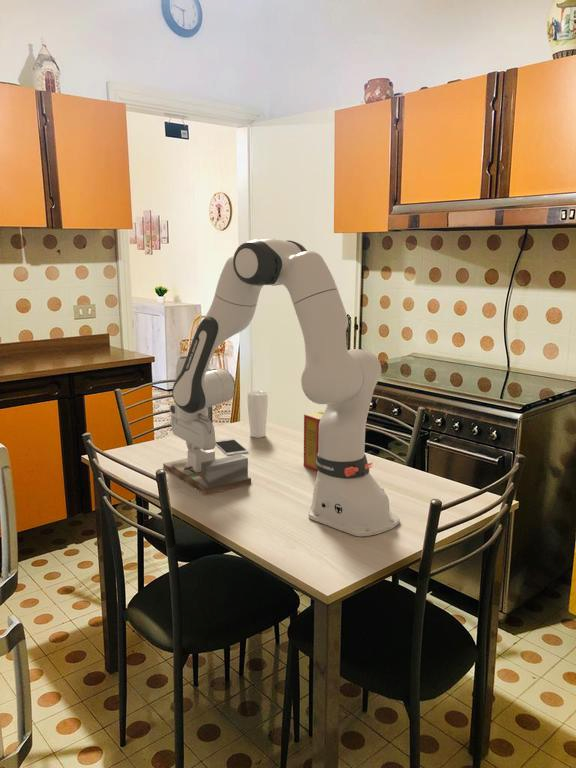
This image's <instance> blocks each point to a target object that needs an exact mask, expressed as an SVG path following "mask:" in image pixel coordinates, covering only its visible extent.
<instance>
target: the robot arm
mask: <svg viewBox="0 0 576 768" xmlns="http://www.w3.org/2000/svg"><path fill="white" fill-rule="evenodd" d="M217 281H218V282H217V284H216V285H217V286H216V288H215V292H214V297H213V300H212V302H211V305H210V307H209V309H208V311H207V313H206V314H205V316H204V318H203V319H202V320H201V322H200V323H199V324H198V327H197V329H196V330H195V333H194V336H193V338H192V342H191V344H190V347H189V349H188V352H187V355H185V356H184V355H183V356H181V357H179V358H178V359H177V361H176V366H175V381H174V383H173V386H172V392H171V393H172V399H173V402H174V404H173V403H172V404H170V405H169V413H171V414H170V425H171V426H170V427H171V431H172V434H173V435H174V436H176V437H178V438H180V439H182V440H184V441H185V444H186V447H187V451H189V450H194V449H199V448H200V449H202V450H204V451H205V450H214V449H215V447H216V442H215V440H216V434H215V426H214V424H213V422H212V421H211V420H210V418H209V408H210V407H213V406H217V405H219V404H223V403H226V402H228V401H230V400H231V399H232V398H233V397H234V394H235V391H236V383H235V379H234V377H233V375H232V374H231V373H230V372H229V371H228V370H227V369H224V368H220V367H218V366H216V365H214V364H213V363H211V361H212V358H213V355H214V353H215V351H216V350H217V349H218V347H219V346H220V345H222V344H223V343H224V342H225V341H227V340H228V339H230V338H232V337H233V336H235V335H237V334H239V333H241V332H242V331H244V330H246V329H247V328H248V326H249V325H250V323H251V321H252V320H253V318H254V315H255V312H256V310H257V309H256V308H257V305H258V301H259V296H260V292H261V290H262V288H263V287H264V286H272V287H273V286H284V287H285V288H286V289H287V292H288V294H289V296H290V300H291V302H292V305H293V308H294V311H295V314H296V316H297V320H298V323H299V326H300V329H301V330H300V331H301V332H302V337H303V342H304V349H305V366H304V369H303V371H302V374H301V379H300V381H301V382H300V383H301V389H302V392H303V393H304V395H305V397H306V398H307V399H308V400H309V401H311V402H312V403H315V404H318V405H326V407H325V410H324V411H325V412H324V414H323V416H322V417H321V419H320V422H319V444H318V453H317V458H316V468H317V470H318V472H316V473H317V474H316V478H315V482H314V484H313V485H314V487H313V493H312V501H311V505H310V511H309V512H308V519H310V520H312V521H315V522H317V523H321V524H323V525H325V526H329V527H330V528H334V529H336V530H339V531H341V532H344V533H347V534H350V535H352V536H355V537H368V536H369V537H370V536H374V535H378V534H381V533H384V532H387V531H390V530H392V529H394V528H395V527H396V526H398V525H399V524H400V519H401V518H400V517H399V516H398V515H397V514H395V513H393V512H391V511H390V510H391V509H390V499H389V496H388V494H387V493H386V492H385V490H384V488H383V487H381V486H380V485H379V484H378V482H377V481H376V480H375V478H374V477H373V476H372V475H371V473H370V469H371V468H373V466H372V465H373V462H369V463H368V458H367V456H366V454H365V447H366V446H365V445H366V444H365V443H366V428H367V427H366V426H367V418H368V415H369V410H370V407H371V402H372V399H373V395H374V391H375V389H376V386H377V384H378V381H380V378H381V376H382V365H381V362H380V359H379V358H378V357H377V356H376V355H375V353H373V352H371V351H370V350H366V349H359V348H351V349H348V345H347V344H348V343H347V329H348V326H349V318H348V314H347V312H346V309H345V306H344V304H343V301H342V298H341V295H340V292H339V290H338V287H337V283H336V282H335V279H334V277H333V275H332V272H331V270H330V269H329V267H328V265H327V263H326V262H325V260H324V258H323V257H322V255H320V254H319V253H318V252H316V251H309V250H307V249H306V248H305V246H303V245H302V244H301V243H299V242H296V241H294V240H283V239H276V238H263V239H252V240H248V241H245V242H244V243H242V244H240V245H239V246H238V247H237V249H236V250H235V252H234V253H233V256H231V257H229V258H228V259H227V260H226V262H225V264H224V266H223V268H222V270H221V273H220V275H219V279H218V280H217Z"/></svg>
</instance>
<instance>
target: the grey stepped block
mask: <svg viewBox="0 0 576 768" xmlns="http://www.w3.org/2000/svg"><path fill="white" fill-rule="evenodd" d="M248 460H249V458H248V457H246V456H245V455H244V454H238V455H230V456H224V457H220V458H215V460H211V461H206V462H202V463H201V472H197V473H196V472H195V471H193V470H191V469H187V470H184V468H187V467H188V457H187V458H182V459H177V460H173V461H168V462H163V464H162V465H163V467H162V468H163V469H164V468H165V469H164V470H166V471H167V472H169V473H170V474H171V475H173V476H175V477H177V479H180V480H181V481H183V482H184V483H186V484H187V485H189V486H191V487H192V488H194V489H195V488H196V489H195V490H197V491H198V490H199V492H201V493H202V494H204V495H205V496H208V495H212V494H215V493H220V492H224V491H227V490H231V489H235V488H236V489H237V488H239V487H242V486H243V487H244V486H246V485H251V484H252V477H249V467H248V466H249V463H248V462H249V461H248Z"/></svg>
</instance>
